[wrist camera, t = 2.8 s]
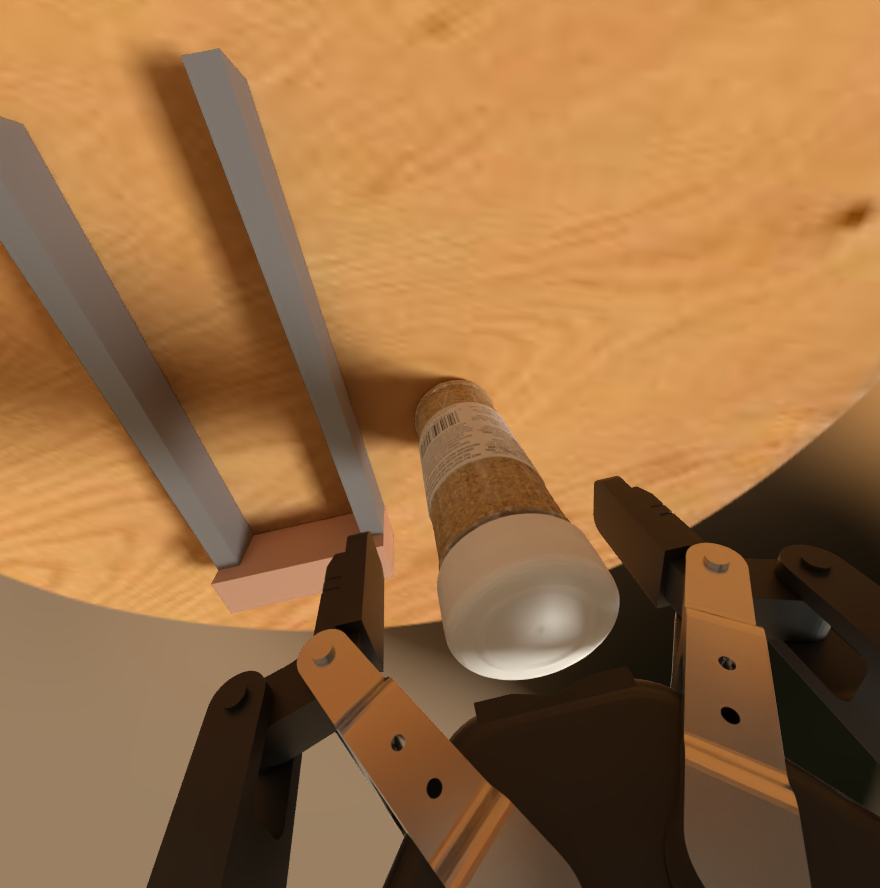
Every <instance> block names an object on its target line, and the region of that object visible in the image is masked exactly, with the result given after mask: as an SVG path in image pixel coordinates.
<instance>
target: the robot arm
mask: <svg viewBox="0 0 880 888" xmlns="http://www.w3.org/2000/svg"><path fill="white" fill-rule="evenodd" d="M594 521H595V524H596V527H597V529H598V531H599V532H600V534H601V535H602V536H603V538H604V539H605V540H606V542H607V543H608V544H609V546H610V547H611V548H612V550H613V551H614V552H615V554H616V555H617V556H618V558H619V559H620V560H621V561H622V563H623V564H624V565H625V566H626V568H627V569H628V571H629V572H630V573H631V575H632V576H633V577H634V579H635V580H636V581H637V582H638V584H639V585H640V587H641V588H642V589H643V590H644V592H645V593H646V594H647V596H648V597H649V598H650V599H651V601H652V602H653V604H654V605H655V606H656V608H660V607H664V606H669V605H671V606H672V607H673V608H674V609H675V611H676V616H675V628H674V649H673V667H672V679H671V688H669V687H667V686H664V685H661V684H658V683H655V682H651V681H646V680H640V679H634V678H633V676H632V675H631V673H630V671H629V669H628V668H627V666H626V667H622V668H618V669H613V670H609V671H605V672H601V673H597V674H593V675H589V676H587V677H586V678H584V679H582V680H581V681H579V682H577V683H576V684H574V685H572V686H571V687H569V688H567V689H566V690H564V691H562V692H560V693H559V694H557V695H551V696H550V695H549V696H548V695H526V694H509V695H505V696H501V697H497V698H493V699H488V700H484V701H480V702H476V703H474V706H475V711H476V716H475V717H473V718H472V719H470V720H469V721H467V722H466V723H465V724H463V725H462V726H461V727H460V728H459V729H458V730H457V731H456V732H455V733H454V734H453V736H452V737H451V738H450V739H449V740H448V738H447V737H446V736H445V735H444V734H443V733H442V732H441V731H440V730H439V729H438V728H437V726H435V724H434V723H433V722H432V721H431V720H430V719H429V718H428V717H427V716H426V715H425V713H424V712H423V711H422V710H421V709H420V708H419V707H418V706H417V705H416V704H415V703H414V702H413V701H412V699H411V698H410V697H409V696H408V695H407V694H406V693H405V692H404V691H403V690H402V688H401V687H400V686H399V685H398V684H397V683H396V682H395V681H394V680H393V679H392V678H390V677H387V678H385V677H384V676H383V675H382V674H381V673H380V672H383V657H384V653H383V652H384V573H383V568H382V564H381V560H380V558H379V555H378V552H377V549H376V546H375V543H374V540H373V537H372V535H371V533H370V531H367V532H362V533H358V534H353V535H349V536H348V537H347V542H346V549H345V552H342V553H337V554H335V555H334V556H333V558H332V560H331V561H330V563H329V564H328V566H327V569H326V574H325V579H324V580H325V582H324V584H323V590H322V591H323V593H322V595H321V600H320V605H319V610H318V616H317V621H316V626H315V631H314V635H313V637H311V638H310V639H309V640H308V641H307V642H306V643H305V645H304V646H303V647H302V649H301V651H300V653H299V655H298V658H297V659H296V660H295V661H294V662H292V663H291V664H289V665H287V666H285V667H284V668H282V669H280V670H278V671H276V672H274V673H273V674H271V675H269V676H267V677H265V678H264V677H263V676H262V675H261V674H260V673H258V672H256V671H247V672H243V673H240V674H238V675H236V676H234V677H233V678H231V679H229V680H228V681H227V682H226V683H225V684H224V685H223V686H221V687H220V689H219V690H218V691H217V692H216V694H215V695H214V696H213V698H212V700H211V702H210V704H209V706H208V709H207V712H206V715H205V717H204V721H203V723H202V726H201V729H200V732H199V735H198V738H197V741H196V744H195V747H194V750H193V753H192V756H191V759H190V762H189V764H188V768H187V770H186V773H185V776H184V779H183V782H182V785H181V788H180V791H179V794H178V797H177V800H176V803H175V805H174V809H173V811H172V814H171V817H170V820H169V823H168V826H167V829H166V832H165V835H164V838H163V841H162V844H161V846H160V850H159V852H158V855H157V858H156V861H155V864H154V867H153V870H152V873H151V876H150V879H149V882H148V885H147V888H286V885H287V876H288V868H289V860H290V850H291V843H292V834H293V826H294V817H295V810H296V801H297V793H298V784H299V776H300V768H301V767H300V766H301V759H302V752H304V751H305V750H307V749H308V748H310V747H311V746H313V745H314V744H316V743H318V742H319V741H321V740H322V739H324V738H326V737H327V736H329V735H331V734H332V733H334V732H335V733H336V734H337V736H338V737H339V739H340V740H341V742H342V743H343V745H344V747H345V748H346V750H347V751H348V752H349V754H350V756H351V757H352V758H353V760H354V761H355V763H356V764H357V766H358V768H359V769H360V771H361V772H362V773H363V775H364V777H365V778H366V780H367V781H368V783H369V784H370V786H371V787H372V789H373V790H374V792H375V794H376V795H377V797H378V799H379V800H380V802H381V803H382V805H383V806H384V808H385V809H386V811H387V812H388V814H389V816H390V817H391V819H392V820H393V822H394V823H395V825H396V826H397V828H398V829H399V831H400V832H401V834H402V835H403V837H404V839H403V841H402V844H401V846H400V848H399V851H398V853H397V855H396V858H395V860H394V862H393V864H392V867H391V869H390V871H389V874H388V876H387V878H386V881H385V883H384V885H383V888H880V817H879V816H878V815H876V814H874V813H873V812H871V811H869V810H868V809H866V808H865V807H863V806H862V805H860V804H858V803H857V802H855V801H854V800H852V799H850V798H849V797H847V796H846V795H844V794H842V793H841V792H839V791H838V790H836V789H834V788H832V787H831V786H830V785H828V784H826V783H825V782H823V781H821V780H820V779H818V778H817V777H815V776H813V775H812V774H810V773H809V772H807V771H805V770H804V769H802V768H801V767H799V766H797V765H795V764H794V763H793V762H791V761H789V760H788V759H786V758H785V757H784V752H783V746H782V739H781V733H780V727H779V719H778V713H777V706H776V700H775V693H774V687H773V680H772V674H771V667H770V661H769V655H768V647H767V641H766V639H767V640H768V641H769V642H770V643H771V645H772V646H773V647H774V648H775V649H776V650H777V651H778V652H779V653H780V655H781V656H782V657H783V658H784V659H785V660H786V661H787V662H788V663H789V665H790V666H791V667H792V668H793V669H794V670H795V671H796V672H797V673H798V675H799V676H800V677H801V678H802V679H803V680H804V681H805V682H806V683H807V685H809V687H810V688H811V689H812V690H813V691H814V692H815V693H816V694H817V696H818V697H819V698H820V699H821V700H822V701H823V702H824V703H825V704H826V706H828V708H829V709H830V710H831V711H832V712H833V713H834V714H835V716H836V717H837V718H838V719H839V720H840V721H841V722H842V723H843V724H844V725H845V727H846V728H847V729H848V730H849V731H850V732H851V733H852V734H853V735H854V736H855V738H856V739H857V740H858V741H859V742H860V743H861V744H862V745H863V747H864V748H865V749H866V750H867V751H868V752H869V753H870V754H871V755H872V756H873V758H874V759H875V760H876V761H877V762H878V763H879V764H880V587H879V586H878V585H877V584H875V583H874V582H873V581H871V580H870V579H869V578H867V577H866V576H864V575H863V574H862V573H860V572H859V571H858V570H856V569H855V568H853V567H852V566H851V565H849V564H848V563H847V562H845V561H844V560H842V559H841V558H839V557H838V556H836V555H834V554H832V553H830V552H828V551H825V550H823V549H819V548H816V547H812V546H806V545H792V546H788V547H785V548H784V549H782V551H781V552H780V555H779V558H778V560H767V559H744V558H742V557H741V556H740V555H739V554H738V553H736V552H735V551H733V550H731V549H729V548H727V547H724V546H722V545H717V544H712V543H706V542H704V541H703V540H702V539H701V538H700V537H699V536H698V535H697V534H696V533H695V532H694V531H692V530H691V529H690V528H689V527H688V526H687V525H686V524H685V523H684V522H683V521H682V520H680V519H679V518H678V517H677V516H676V515H675V514H672V511H671V510H669V509H668V508H667V507H666V506H664V505H663V503H662V502H661V501H660V500H658V499H657V498H656V497H655V496H654V495H653V494H652V493H650V492H647V491H645V490H643V489H641V488H639V487H633V488H631V487H630V486H629V485H628V484H627V483H626V482H625V481H624V480H623V479H622V478H621V477H619V476H614V477H610V478H605V479H601V480H597V481H595V483H594ZM830 627H832V628H833V629H835V630H836V631H837V632H838V633H839V634H840V635H841V636H842V637H844V639H846V640H847V641H848V642H849V643H850V644H851V645H852V646H853V647H854V648H855V649H857V650H858V652H859V653H860V654H861V655H862V657H863V658H864V659H863V658H862V657H861V656H860V655H858V654H857V653H856V652H855V651H854V650H853V649H852V648H851V647H850V646H849V645H847V644H846V643H845V642H844V641H843V640H842V639H841V638H840V637H839V636H838V635H837V634H836V633H834V632H833V631H832V630H831V629H830Z"/></svg>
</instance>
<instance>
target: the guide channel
mask: <svg viewBox="0 0 880 888" xmlns="http://www.w3.org/2000/svg"><path fill="white" fill-rule="evenodd" d="M181 58H182V61H183V63H184V66H185V69H186V71H187V74H188V77H189V79H190V82H191V84H192V87H193V90H194V92H195V95H196V98H197V100H198V103H199V106H200V108H201V111H202V114H203V116H204V119H205V122H206V124H207V127H208V130H209V132H210V135H211V137H212V140H213V143H214V145H215V148H216V151H217V153H218V156H219V159H220V161H221V164H222V167H223V169H224V172H225V175H226V177H227V180H228V182H229V185H230V188H231V190H232V193H233V196H234V198H235V201H236V204H237V206H238V209H239V212H240V214H241V217H242V220H243V222H244V225H245V228H246V230H247V233H248V235H249V238H250V241H251V243H252V246H253V249H254V251H255V254H256V257H257V259H258V262H259V265H260V267H261V270H262V273H263V275H264V278H265V281H266V283H267V286H268V288H269V291H270V294H271V296H272V299H273V302H274V304H275V307H276V310H277V312H278V315H279V318H280V320H281V323H282V326H283V328H284V331H285V333H286V336H287V339H288V341H289V344H290V347H291V349H292V352H293V355H294V357H295V360H296V363H297V365H298V368H299V371H300V373H301V376H302V379H303V381H304V384H305V386H306V389H307V392H308V394H309V397H310V400H311V402H312V405H313V408H314V410H315V413H316V416H317V418H318V421H319V424H320V426H321V429H322V432H323V434H324V437H325V439H326V442H327V445H328V447H329V450H330V453H331V455H332V458H333V461H334V463H335V466H336V469H337V471H338V474H339V477H340V479H341V482H342V484H343V487H344V490H345V492H346V495H347V498H348V500H349V503H350V506H351V508H352V511H353V513H351V514H347V515H342V516H338V517H333V518H329V519H324V520H320V521H315V522H311V523H306V524H302V525H297V526H293V527H288V528H284V529H279V530H275V531H270V532H266V533H261V534H257V535H253V533H252V531H251V529H250V527H249V526H248V524H247V522H246V520H245V519H244V517H243V515H242V513H241V511H240V510H239V508H238V506H237V504H236V503H235V501H234V499H233V497H232V495H231V494H230V492H229V490H228V488H227V486H226V485H225V483H224V481H223V479H222V478H221V476H220V474H219V472H218V470H217V469H216V467H215V465H214V463H213V462H212V460H211V458H210V456H209V454H208V453H207V451H206V449H205V447H204V446H203V444H202V442H201V440H200V438H199V437H198V435H197V433H196V431H195V430H194V428H193V426H192V424H191V422H190V421H189V419H188V417H187V415H186V414H185V412H184V410H183V408H182V406H181V405H180V403H179V401H178V399H177V397H176V396H175V394H174V392H173V390H172V389H171V387H170V385H169V383H168V381H167V380H166V378H165V376H164V374H163V373H162V371H161V369H160V367H159V365H158V364H157V362H156V360H155V358H154V357H153V355H152V353H151V351H150V349H149V348H148V346H147V344H146V342H145V341H144V339H143V337H142V335H141V333H140V332H139V330H138V328H137V326H136V324H135V323H134V321H133V319H132V317H131V316H130V314H129V312H128V310H127V308H126V307H125V305H124V303H123V301H122V300H121V298H120V296H119V294H118V292H117V291H116V289H115V287H114V285H113V284H112V282H111V280H110V278H109V276H108V275H107V273H106V271H105V269H104V268H103V266H102V264H101V262H100V260H99V259H98V257H97V255H96V253H95V252H94V250H93V248H92V246H91V244H90V243H89V241H88V239H87V237H86V235H85V234H84V232H83V230H82V228H81V227H80V225H79V223H78V221H77V219H76V218H75V216H74V214H73V212H72V211H71V209H70V207H69V205H68V203H67V202H66V200H65V198H64V196H63V195H62V193H61V191H60V189H59V187H58V186H57V184H56V182H55V180H54V179H53V177H52V175H51V173H50V171H49V170H48V168H47V166H46V164H45V162H44V161H43V159H42V157H41V155H40V154H39V152H38V150H37V148H36V146H35V145H34V143H33V141H32V139H31V138H30V136H29V134H28V132H27V130H26V129H25V127H24V125H23V124H20V123H17V122H14V121H11V120H8V119H5V118H2V117H0V241H1V242H2V244H3V245H4V247H5V248H6V250H7V252H8V253H9V255H10V256H11V258H12V259H13V261H14V262H15V264H16V265H17V267H18V268H19V270H20V271H21V273H22V274H23V276H24V277H25V279H26V280H27V282H28V283H29V285H30V286H31V288H32V289H33V291H34V292H35V294H36V295H37V297H38V298H39V300H40V301H41V303H42V304H43V306H44V307H45V309H46V310H47V312H48V313H49V315H50V316H51V318H52V320H53V321H54V323H55V324H56V326H57V327H58V329H59V330H60V332H61V333H62V335H63V336H64V338H65V339H66V341H67V342H68V344H69V345H70V347H71V348H72V350H73V351H74V353H75V354H76V356H77V357H78V359H79V360H80V362H81V363H82V365H83V366H84V368H85V369H86V371H87V372H88V374H89V375H90V377H91V378H92V380H93V381H94V383H95V384H96V386H97V387H98V389H99V391H100V392H101V394H102V395H103V397H104V398H105V400H106V401H107V403H108V404H109V406H110V407H111V409H112V410H113V412H114V413H115V415H116V416H117V418H118V419H119V421H120V422H121V424H122V425H123V427H124V428H125V430H126V431H127V433H128V434H129V436H130V437H131V439H132V440H133V442H134V443H135V445H136V446H137V448H138V449H139V451H140V452H141V454H142V455H143V457H144V458H145V460H146V462H147V463H148V465H149V466H150V468H151V469H152V471H153V472H154V474H155V475H156V477H157V478H158V480H159V481H160V483H161V484H162V486H163V487H164V489H165V490H166V492H167V493H168V495H169V496H170V498H171V499H172V501H173V502H174V504H175V505H176V507H177V508H178V510H179V511H180V513H181V514H182V516H183V517H184V519H185V520H186V522H187V523H188V525H189V526H190V528H191V530H192V531H193V533H194V534H195V536H196V537H197V539H198V540H199V542H200V543H201V545H202V546H203V548H204V549H205V551H206V552H207V554H208V555H209V557H210V558H211V560H212V561H213V563H214V564H215V566H216V567H217V569H218V572H217V574H216V576H215V578H214V580H213V582H212V584H211V585H212V587H213V588H214V589H215V591H216V592H217V594H218V595H219V597H220V598H221V600H222V601H223V602H224V604H225V605H226V607H227V608H228V610H229V611H230V613H235V612H240V611H244V610H249V609H253V608H257V607H262V606H266V605H271V604H275V603H280V602H284V601H288V600H293V599H297V598H302V597H306V596H311V595H315V594H319V593H323V591H322V590H323V584H324V582H325V580H324V579H325V574H326V569H327V566H328V564H329V563H330V561H331V560H332V558H333V556H334V555H335V554H337V553H342V552H345V549H346V542H347V537H348V536H349V535H353V534H358V533H362V532H367V531H370V533H371V535H372V537H373V540H374V543H375V546H376V549H377V552H378V555H379V558H380V560H381V564H382V568H383V573H384V579H386V578H390V577H394V535H393V532H392V529H391V526H390V523H389V519H388V516H387V513H386V510H385V507H384V504H383V501H382V498H381V495H380V492H379V489H378V485H377V482H376V479H375V476H374V473H373V470H372V467H371V464H370V461H369V458H368V454H367V451H366V448H365V445H364V442H363V439H362V436H361V433H360V430H359V427H358V423H357V420H356V417H355V414H354V411H353V408H352V405H351V402H350V399H349V396H348V393H347V389H346V386H345V383H344V380H343V377H342V374H341V371H340V368H339V365H338V362H337V358H336V355H335V352H334V349H333V346H332V343H331V340H330V337H329V334H328V331H327V327H326V324H325V321H324V318H323V315H322V312H321V309H320V306H319V303H318V300H317V297H316V293H315V290H314V287H313V284H312V281H311V278H310V275H309V272H308V269H307V266H306V262H305V259H304V256H303V253H302V250H301V247H300V244H299V241H298V238H297V235H296V231H295V228H294V225H293V222H292V219H291V216H290V213H289V210H288V207H287V204H286V201H285V197H284V194H283V191H282V188H281V185H280V182H279V179H278V176H277V173H276V170H275V166H274V163H273V160H272V157H271V154H270V151H269V148H268V145H267V142H266V139H265V135H264V132H263V129H262V126H261V123H260V120H259V117H258V114H257V111H256V108H255V105H254V101H253V98H252V95H251V92H250V89H249V86H248V83H247V80H246V78H245V77H244V76H243V75H242V74H241V73H240V71H239V70H238V69H237V68H236V67H235V66H234V65H233V63H232V62H231V61H230V60H229V59H228V58H227V57H226V55H225V54H224V53H223V52H222V51H221V50H220V48H218V49H213V50H208V51H203V52H198V53H193V54H188V55H183V56H181Z"/></svg>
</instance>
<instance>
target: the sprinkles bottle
mask: <svg viewBox="0 0 880 888" xmlns="http://www.w3.org/2000/svg"><path fill="white" fill-rule="evenodd" d="M414 422H415V428H416V432H417V434H418V436H419V439H420V442H419V451H420V458H421V465H422V472H423V479H424V486H425V492H426V499H427V506H428V512H429V517H430V519H431V521H432V524H433V529H434V534H435V540H436V547H437V552H438V557H439V575H438V581H437V591H438V598H439V604H440V610H441V616H442V621H443V627H444V632H445V637H446V641H447V644H448V647H449V649H450V651H451V653H452V654H453V655H454V657H455V658H456V659H457V660H458V661H459V662H460V663H461V664H462V665H463V666H464V667H466V668H468V669H469V670H471V671H473V672H475V673H477V674H479V675H482V676H486V677H489V678H496V679H501V680H521V679H531V678H536V677H540V676H544V675H548V674H551V673H554V672H557V671H559V670H562V669H564V668H566V667H568V666H570V665H572V664H574V663H576V662H578V661H579V660H581V659H582V658H584V657H585V656H587V655H588V654H590V653H591V652H592V651H593V650H594V649H595V648H596V647H597V646H599V644H600V643H601V642H602V641H603V640H604V639H605V638H606V636H607V635H608V634H609V632H610V631H611V629H612V627H613V625H614V623H615V621H616V618H617V615H618V610H619V592H618V589H617V586H616V584H615V582H614V579H613V577H612V576H611V574H610V572H609V571H608V569H607V568H606V566H605V564H604V563H603V561H602V560H601V558H600V557H599V555H598V554H597V552H596V551H595V549H594V548H593V546H592V545H591V543H590V542H589V540H588V539H587V537H586V536H585V535H584V533H583V532H582V531H581V530H580V529H578V528H577V527H576V526H575V525H573V524H571V522H570V521H569V520H568V519H567V518H566V517H565V516H564V514H563V512H562V511H561V510H560V508H559V507H558V505H557V504H556V502H555V501H554V499H553V498H552V496H551V495H550V493H549V491H548V490H547V488H546V486H545V483H544V481H543V480H542V478H541V476H540V475H539V473H538V472H537V470H536V469H535V467H534V466H533V464H532V463H531V461H530V460H529V458H528V457H527V455H526V453H525V452H524V450H523V449H522V447H521V446H520V444H519V443H518V441H517V440H516V438H515V437H514V435H513V433H512V432H511V430H510V429H509V427H508V426H507V424H506V423H505V421H504V420H503V418H502V417H501V416H500V415H499V414H498V412H497V411H496V409H495V408H494V404H493V402H492V400H491V399H490V397H489V396H488V394H487V392H486V391H485V390H484V389H482V388H481V387H480V386H478V385H476V384H474V383H473V382H471V381H465V380H450V381H445V382H442V383H439V384H438V385H436V386H435V387H433V388H431V389H430V390H429V391H428V392H427V393H426V394H425V395H424V396H423V397H422V399H421V400H420V402H419V404H418V406H417V409H416V414H415V421H414Z"/></svg>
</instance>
